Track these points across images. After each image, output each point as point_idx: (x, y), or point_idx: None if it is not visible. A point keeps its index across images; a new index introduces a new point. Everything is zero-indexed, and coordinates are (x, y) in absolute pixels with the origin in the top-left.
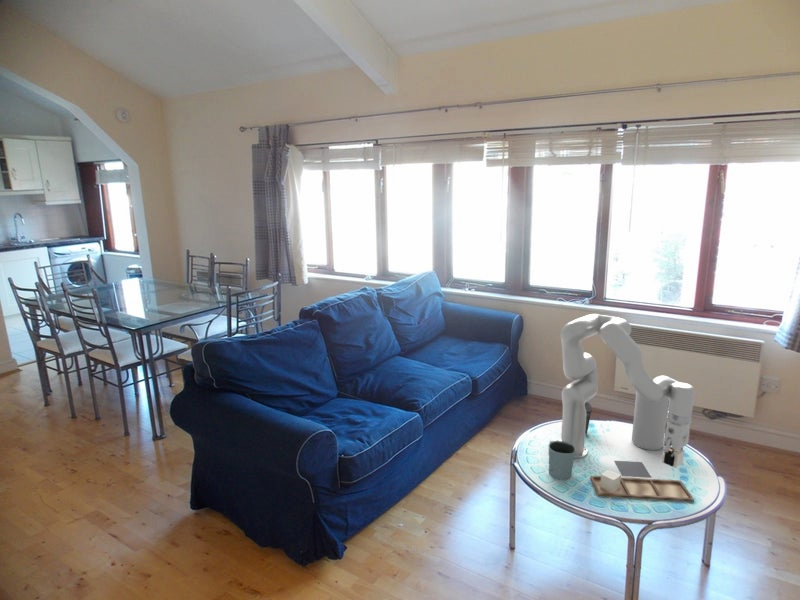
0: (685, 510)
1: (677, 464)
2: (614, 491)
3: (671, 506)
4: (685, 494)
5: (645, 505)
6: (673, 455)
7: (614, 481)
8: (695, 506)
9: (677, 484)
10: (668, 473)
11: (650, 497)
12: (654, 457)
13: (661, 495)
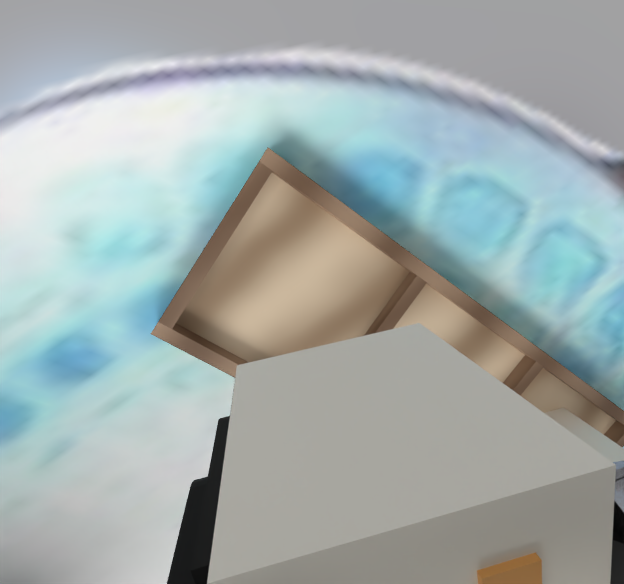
0: (384, 129)
1: (411, 347)
2: (550, 413)
3: (417, 199)
4: (243, 229)
5: (519, 274)
6: (618, 491)
7: (617, 453)
8: (292, 120)
9: (190, 324)
10: (128, 428)
11: (471, 298)
12: (59, 569)
13: (381, 291)
